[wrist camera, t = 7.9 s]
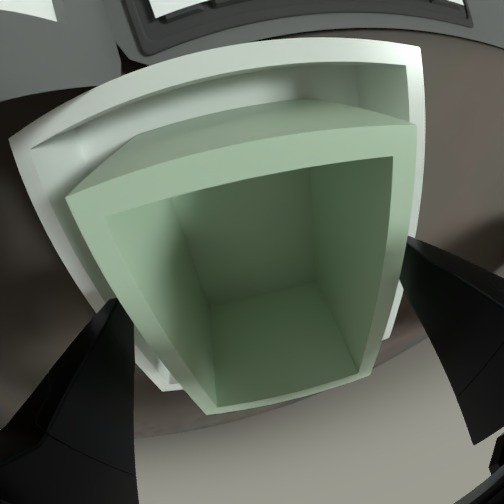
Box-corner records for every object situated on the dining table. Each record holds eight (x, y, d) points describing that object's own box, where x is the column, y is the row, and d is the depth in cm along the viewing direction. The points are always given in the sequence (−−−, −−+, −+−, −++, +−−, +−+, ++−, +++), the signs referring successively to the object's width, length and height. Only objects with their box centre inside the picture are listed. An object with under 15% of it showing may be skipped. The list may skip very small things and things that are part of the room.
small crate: (311, 97, 9) (416, 124, 4) (323, 279, 14) (369, 375, 9) (139, 133, 9) (64, 197, 4) (201, 307, 14) (206, 415, 9)
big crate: (358, 50, 8) (419, 47, 5) (360, 289, 16) (389, 337, 13) (64, 116, 8) (8, 139, 5) (165, 335, 16) (162, 391, 13)
